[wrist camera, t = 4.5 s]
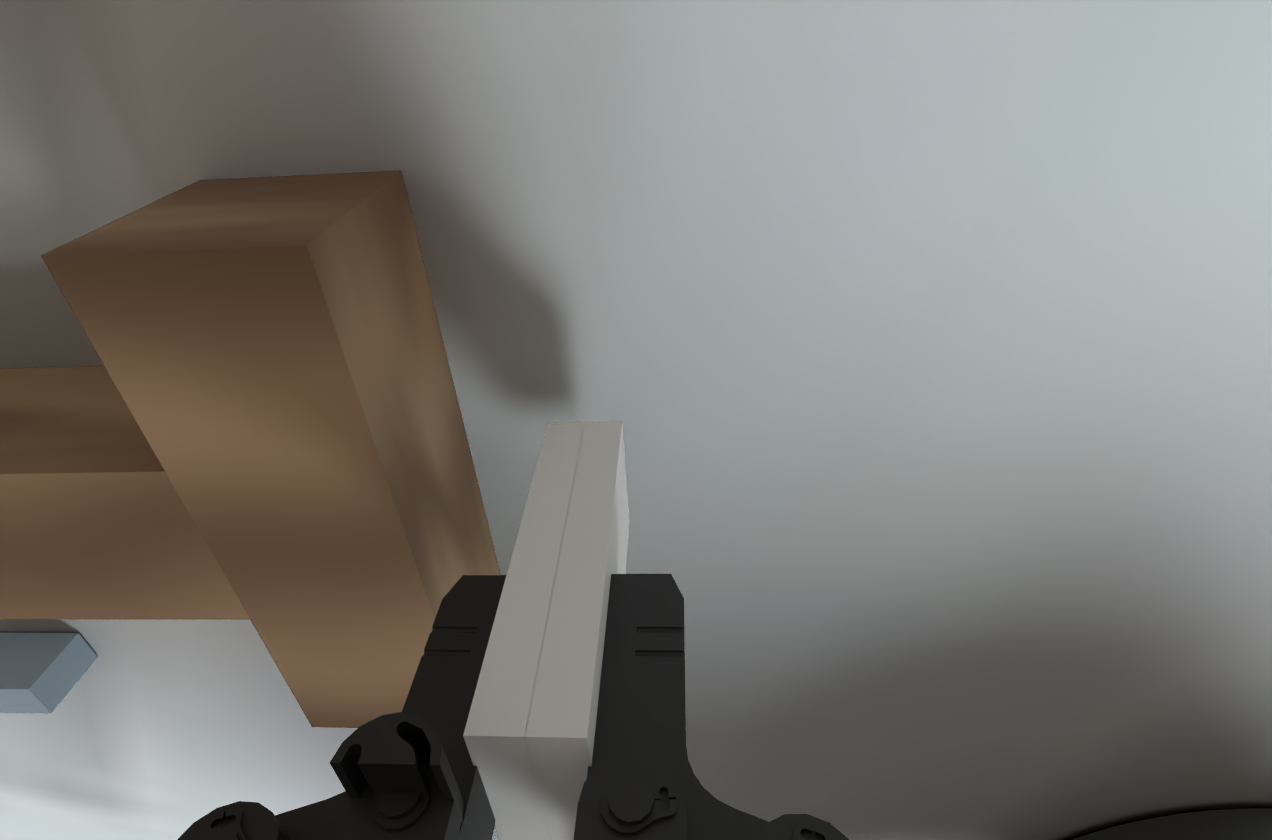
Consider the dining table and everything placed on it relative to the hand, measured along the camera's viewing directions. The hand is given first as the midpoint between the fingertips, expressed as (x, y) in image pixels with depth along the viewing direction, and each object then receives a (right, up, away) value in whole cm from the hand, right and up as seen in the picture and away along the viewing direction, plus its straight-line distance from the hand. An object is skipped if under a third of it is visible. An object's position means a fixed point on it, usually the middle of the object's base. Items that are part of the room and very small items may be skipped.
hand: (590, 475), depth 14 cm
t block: (-9, +1, +3) cm, 10 cm away
